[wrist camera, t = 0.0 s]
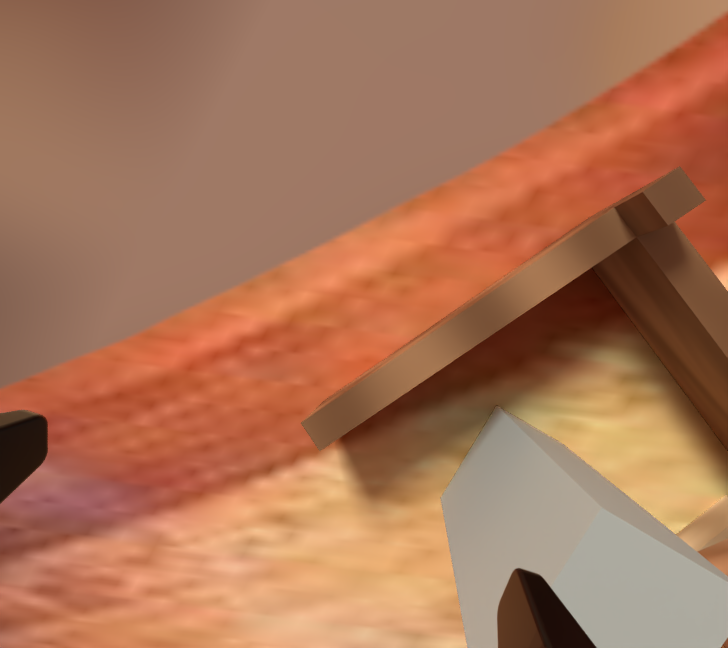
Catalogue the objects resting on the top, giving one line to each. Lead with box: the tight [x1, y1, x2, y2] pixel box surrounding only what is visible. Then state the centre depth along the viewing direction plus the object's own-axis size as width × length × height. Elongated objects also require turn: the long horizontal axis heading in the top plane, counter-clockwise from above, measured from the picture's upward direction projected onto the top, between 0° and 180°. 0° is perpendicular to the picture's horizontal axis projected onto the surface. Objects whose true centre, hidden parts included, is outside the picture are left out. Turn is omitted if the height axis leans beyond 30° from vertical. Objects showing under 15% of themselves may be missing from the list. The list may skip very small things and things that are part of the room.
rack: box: [301, 167, 728, 451], centre depth 18 cm, size 18×26×7 cm
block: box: [441, 405, 728, 648], centre depth 16 cm, size 6×4×12 cm, turn 150°
